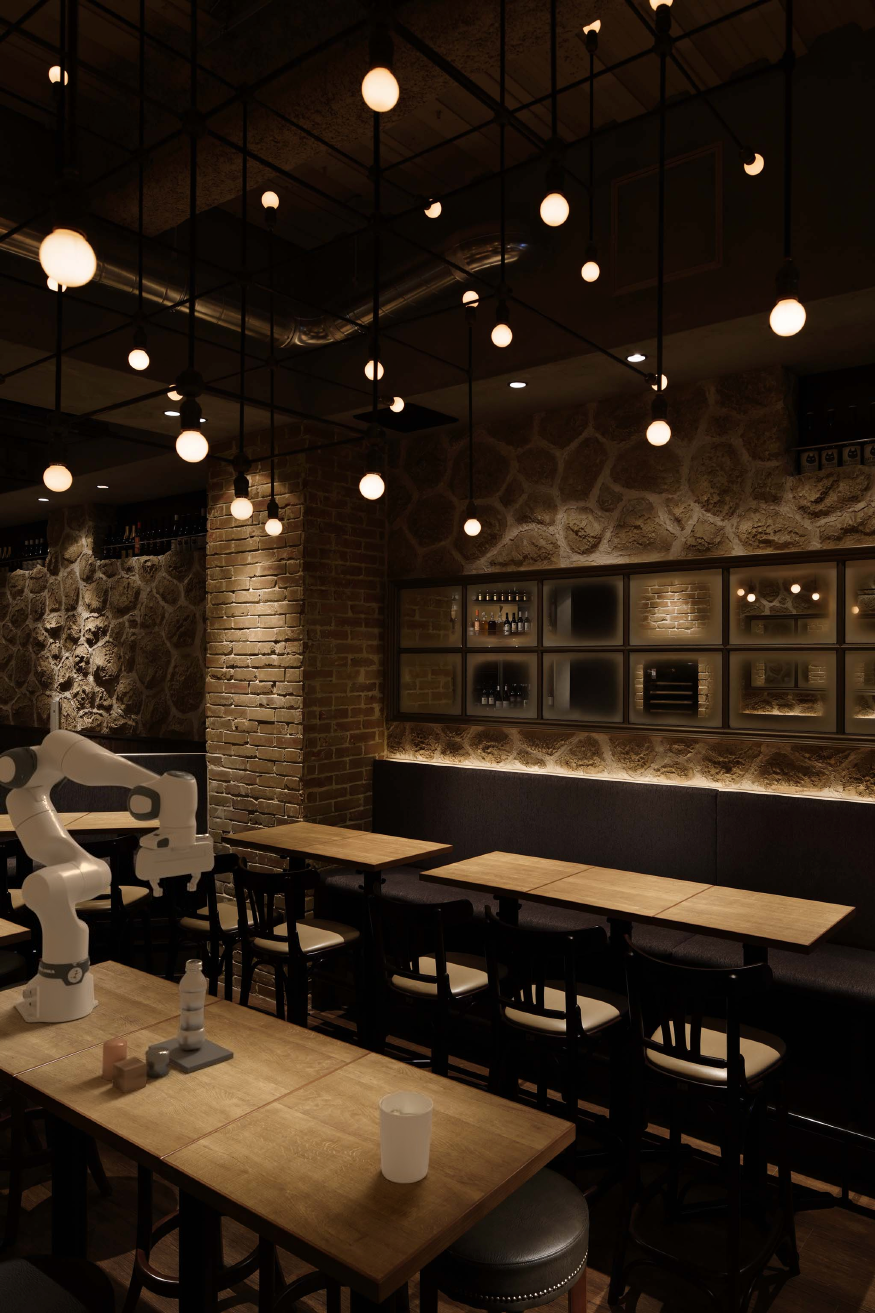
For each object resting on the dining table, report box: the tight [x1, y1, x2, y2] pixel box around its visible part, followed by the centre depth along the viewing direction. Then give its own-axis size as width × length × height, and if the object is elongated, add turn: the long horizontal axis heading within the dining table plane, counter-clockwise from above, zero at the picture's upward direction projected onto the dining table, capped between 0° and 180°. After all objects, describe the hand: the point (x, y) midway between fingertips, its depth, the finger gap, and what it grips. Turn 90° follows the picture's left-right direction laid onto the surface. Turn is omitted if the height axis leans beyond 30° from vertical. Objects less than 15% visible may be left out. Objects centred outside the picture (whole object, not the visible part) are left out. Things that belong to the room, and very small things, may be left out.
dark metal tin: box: [145, 1047, 170, 1080], centre depth 197 cm, size 5×5×5 cm
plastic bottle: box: [176, 959, 208, 1050], centre depth 209 cm, size 6×7×20 cm
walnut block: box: [111, 1056, 147, 1095], centre depth 190 cm, size 5×5×5 cm
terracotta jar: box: [101, 1038, 128, 1081], centre depth 196 cm, size 5×5×7 cm
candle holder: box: [378, 1090, 434, 1184], centre depth 160 cm, size 10×10×12 cm
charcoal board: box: [147, 1037, 235, 1074], centre depth 208 cm, size 17×12×1 cm
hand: (174, 893), depth 221 cm, fingers open, 8 cm apart
